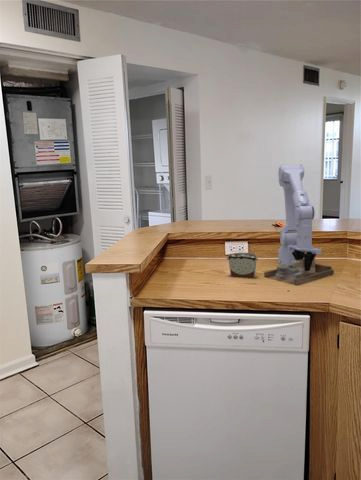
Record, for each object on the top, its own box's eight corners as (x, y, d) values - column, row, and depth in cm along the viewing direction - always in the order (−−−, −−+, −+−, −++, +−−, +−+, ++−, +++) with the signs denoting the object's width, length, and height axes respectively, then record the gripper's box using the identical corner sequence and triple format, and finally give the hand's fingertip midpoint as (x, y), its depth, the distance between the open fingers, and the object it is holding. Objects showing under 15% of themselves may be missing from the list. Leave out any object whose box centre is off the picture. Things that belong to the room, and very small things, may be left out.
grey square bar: (275, 277, 162) (275, 266, 161) (282, 275, 164) (282, 265, 164) (295, 282, 154) (295, 271, 153) (302, 280, 156) (302, 269, 155)
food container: (261, 277, 166) (261, 253, 165) (257, 281, 161) (257, 256, 159) (232, 275, 172) (231, 251, 170) (227, 278, 166) (227, 254, 164)
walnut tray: (264, 279, 163) (264, 269, 162) (300, 269, 175) (300, 260, 175) (296, 288, 150) (297, 277, 149) (333, 276, 162) (333, 267, 162)
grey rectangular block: (292, 276, 162) (292, 261, 161) (310, 271, 168) (310, 257, 167) (297, 277, 160) (297, 262, 159) (315, 272, 166) (315, 257, 165)
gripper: (282, 235, 165) (282, 268, 167) (313, 239, 153) (312, 274, 156) (294, 233, 169) (294, 265, 171) (325, 237, 157) (324, 271, 160)
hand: (303, 269), depth 164 cm, fingers open, 3 cm apart
